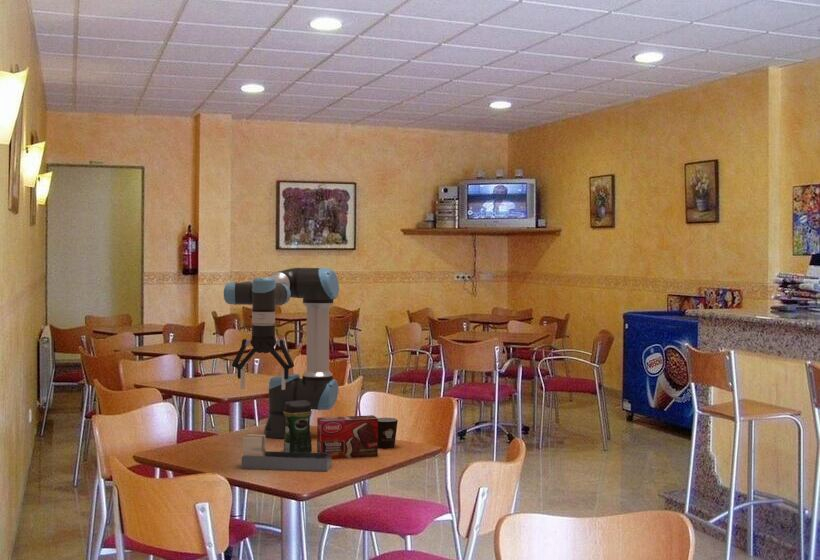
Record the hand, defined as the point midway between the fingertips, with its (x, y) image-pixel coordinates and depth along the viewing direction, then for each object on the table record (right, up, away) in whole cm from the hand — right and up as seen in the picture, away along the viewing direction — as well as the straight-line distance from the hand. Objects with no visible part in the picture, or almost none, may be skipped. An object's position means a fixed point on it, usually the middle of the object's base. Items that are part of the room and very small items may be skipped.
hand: (262, 389), depth 301 cm
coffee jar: (+9, -25, +19) cm, 33 cm away
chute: (+8, -25, -2) cm, 27 cm away
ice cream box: (+27, -25, +15) cm, 40 cm away
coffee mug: (+38, -25, +32) cm, 56 cm away
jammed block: (-3, -23, -1) cm, 23 cm away
